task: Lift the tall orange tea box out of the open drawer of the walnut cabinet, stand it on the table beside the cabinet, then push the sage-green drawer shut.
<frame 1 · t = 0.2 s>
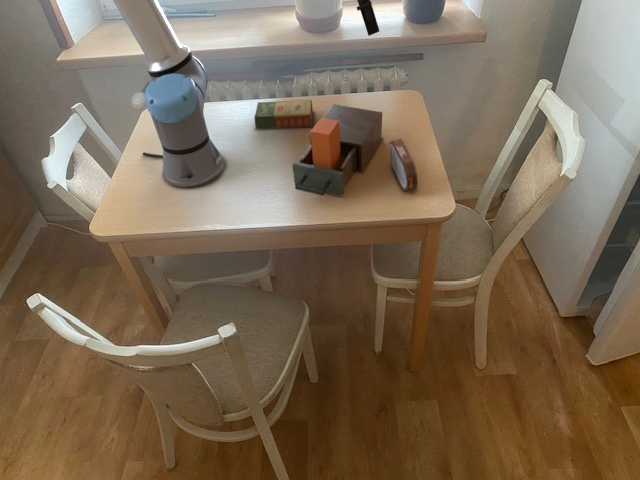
hand: (370, 21, 114), 28 cm above the table, tool tilted 20°, fingers open, 13 cm apart
cabinet: (347, 150, 125), on the table
tin: (401, 179, 115), on the table
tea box: (327, 172, 115), point 2 cm above the table, touching drawer
carton: (284, 121, 137), on the table
drawer: (325, 168, 113), point 4 cm above the table, slide at 10.0 cm, touching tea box
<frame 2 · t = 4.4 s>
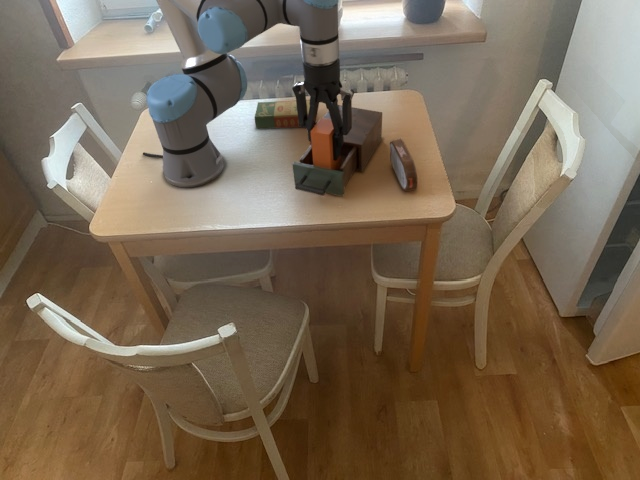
hand: (326, 154, 112), 7 cm above the table, tool pointing down, fingers closed on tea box, 4 cm apart
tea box: (327, 172, 115), point 2 cm above the table, touching drawer, gripper
everything else where it was.
when the fingers open (5 cm above the table, at t = 12.4 s): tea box stays where it is, on the table.
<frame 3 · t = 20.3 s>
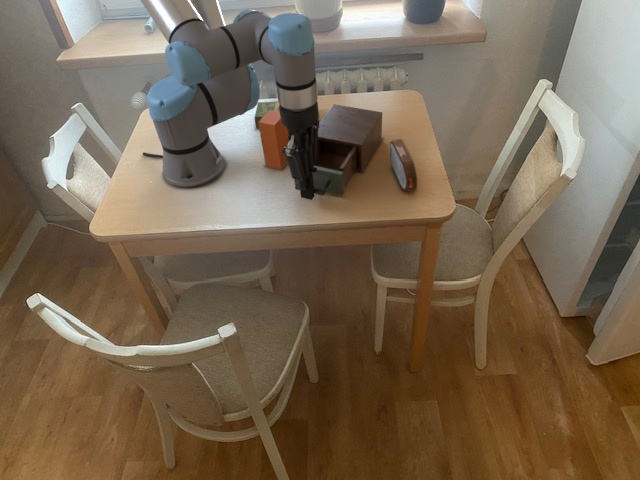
hand: (307, 196, 107), 3 cm above the table, tool pointing down, fingers closed
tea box: (278, 161, 123), on the table
drawer: (325, 168, 113), point 4 cm above the table, slide at 10.0 cm, touching gripper
everything else where it was.
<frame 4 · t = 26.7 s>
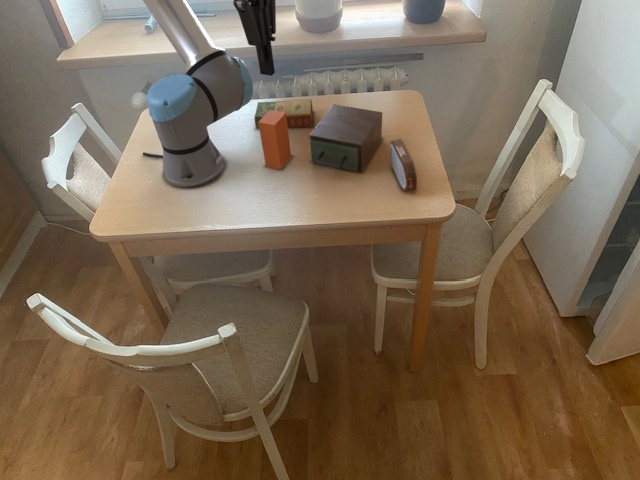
hand: (267, 73, 101), 26 cm above the table, tool pointing down, fingers closed
drawer: (341, 145, 119), point 4 cm above the table, slide at 0.0 cm, touching cabinet
everything else where it was.
at the end: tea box inside the target area (0.1 cm from its centre), on the table; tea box tilted 0°; drawer slide at 0.0 cm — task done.
